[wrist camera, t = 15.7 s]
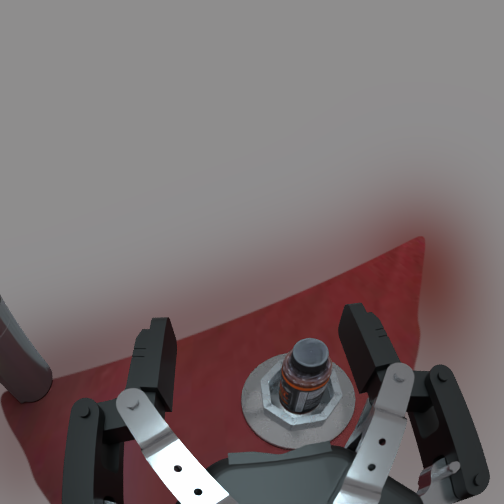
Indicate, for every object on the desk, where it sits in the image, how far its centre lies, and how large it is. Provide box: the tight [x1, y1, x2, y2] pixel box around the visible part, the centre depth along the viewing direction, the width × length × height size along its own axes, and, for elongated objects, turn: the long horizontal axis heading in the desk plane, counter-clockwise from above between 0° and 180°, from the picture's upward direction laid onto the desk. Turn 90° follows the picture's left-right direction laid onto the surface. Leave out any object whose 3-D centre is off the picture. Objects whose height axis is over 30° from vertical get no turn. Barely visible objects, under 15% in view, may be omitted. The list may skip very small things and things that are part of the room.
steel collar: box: [242, 354, 355, 450], centre depth 35 cm, size 16×16×4 cm
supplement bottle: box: [279, 338, 332, 414], centre depth 32 cm, size 6×6×11 cm
